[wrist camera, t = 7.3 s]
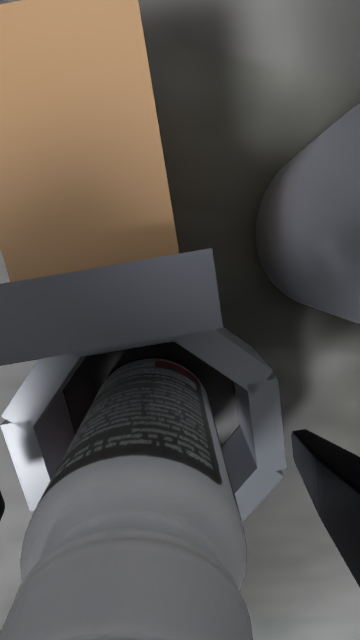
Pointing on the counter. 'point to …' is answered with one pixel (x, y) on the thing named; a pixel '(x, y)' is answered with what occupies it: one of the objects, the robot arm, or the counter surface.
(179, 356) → the counter surface
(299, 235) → the grey rounded lump
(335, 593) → the counter surface
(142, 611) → the pill bottle
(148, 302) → the octagonal ring stamp
